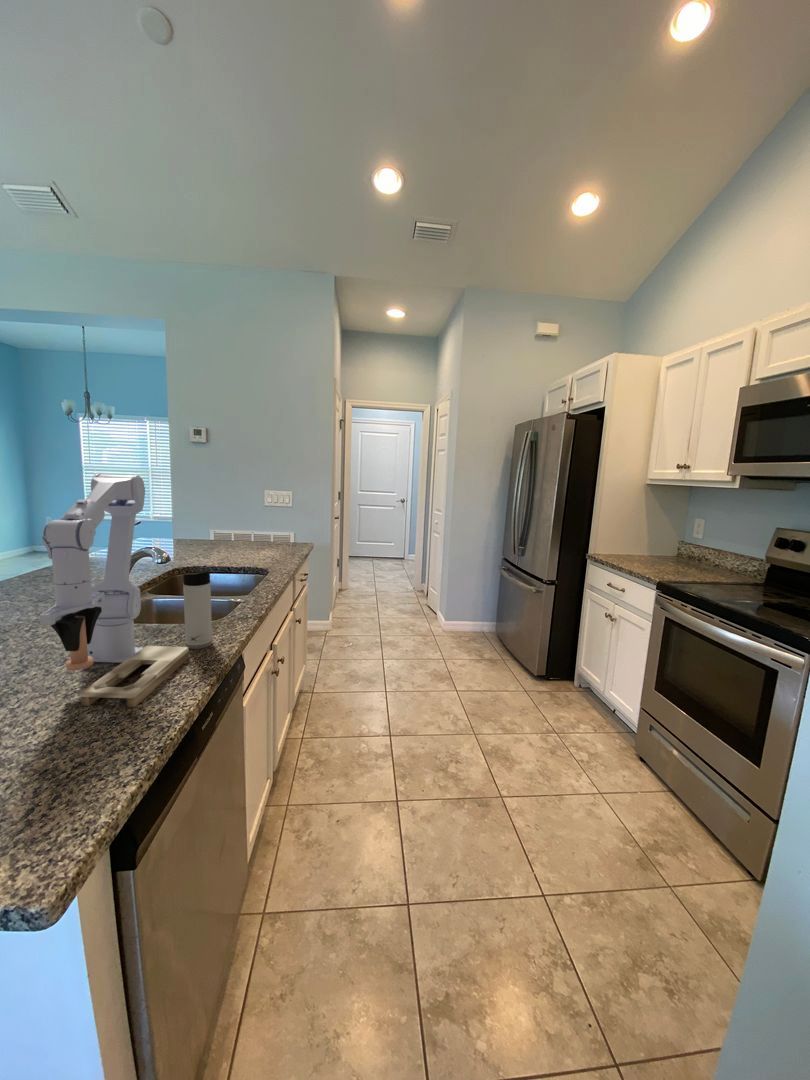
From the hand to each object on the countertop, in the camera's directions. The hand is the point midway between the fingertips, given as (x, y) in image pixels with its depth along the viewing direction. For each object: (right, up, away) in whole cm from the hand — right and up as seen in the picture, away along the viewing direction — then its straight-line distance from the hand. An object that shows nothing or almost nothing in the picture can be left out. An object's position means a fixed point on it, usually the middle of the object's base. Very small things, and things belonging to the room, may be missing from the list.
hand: (78, 646), depth 86 cm
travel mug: (+12, -6, +27) cm, 30 cm away
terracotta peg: (0, -4, +1) cm, 4 cm away
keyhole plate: (+8, -9, +8) cm, 14 cm away
